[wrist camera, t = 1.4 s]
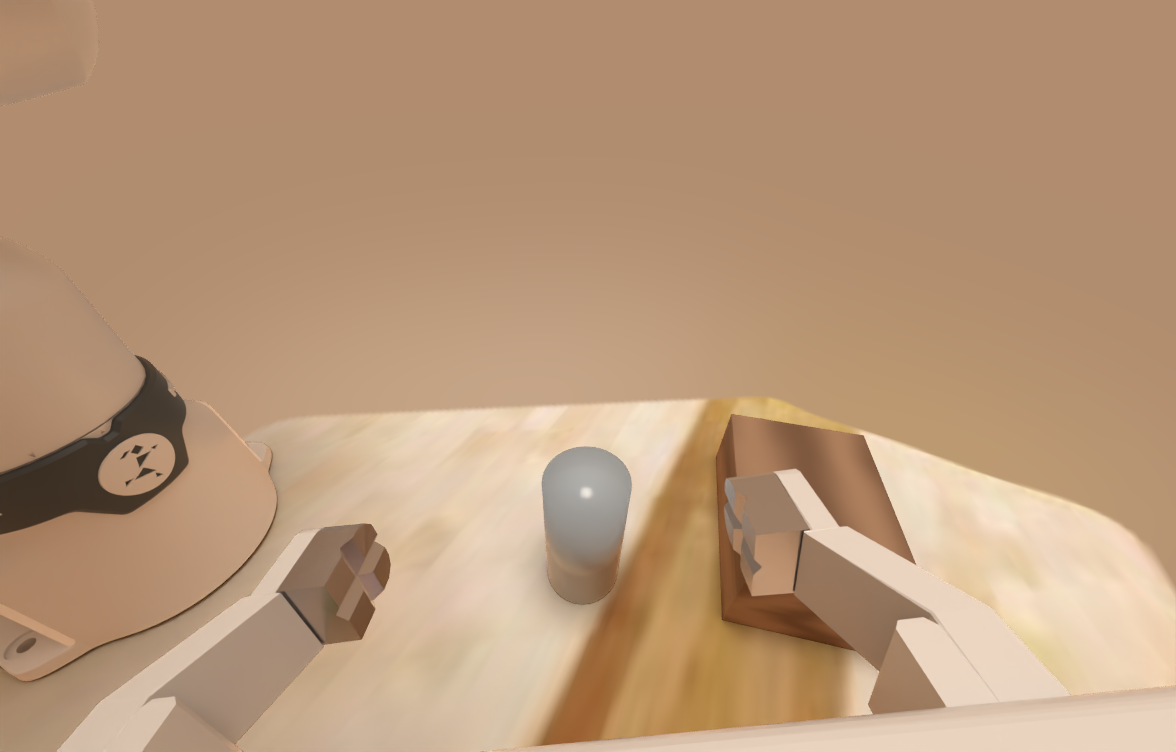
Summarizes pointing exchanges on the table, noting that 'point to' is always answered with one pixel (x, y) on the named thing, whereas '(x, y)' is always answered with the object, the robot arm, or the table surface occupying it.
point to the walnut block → (839, 482)
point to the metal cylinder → (584, 521)
